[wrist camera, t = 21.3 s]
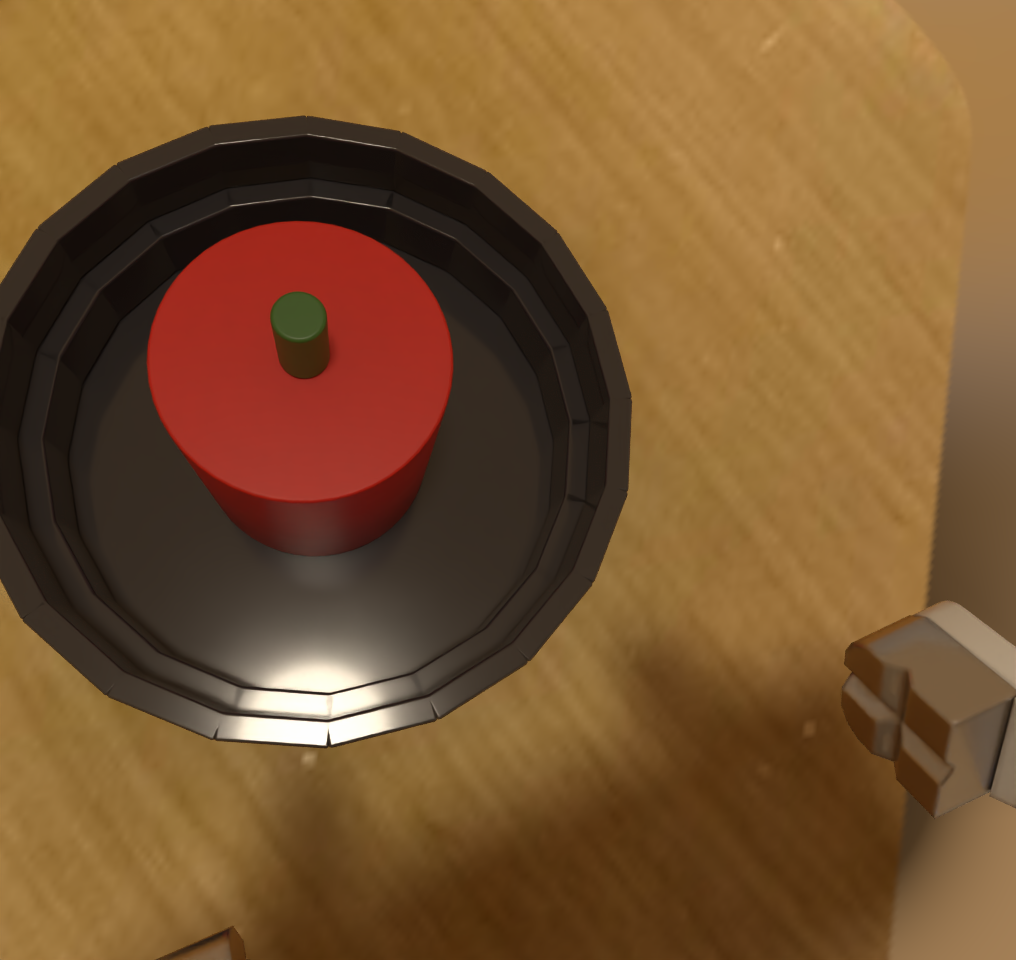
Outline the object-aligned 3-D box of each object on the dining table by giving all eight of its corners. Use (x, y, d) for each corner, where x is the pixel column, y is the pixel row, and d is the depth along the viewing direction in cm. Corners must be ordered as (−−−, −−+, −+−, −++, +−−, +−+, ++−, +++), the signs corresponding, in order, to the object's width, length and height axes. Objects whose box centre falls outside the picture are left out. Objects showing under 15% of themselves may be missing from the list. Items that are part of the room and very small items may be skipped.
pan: (685, 442, 27) (747, 395, 23) (337, 862, 23) (334, 901, 19) (310, 117, 28) (302, 10, 23) (-100, 470, 23) (-202, 419, 19)
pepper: (448, 530, 25) (499, 443, 16) (225, 578, 23) (150, 510, 15) (401, 329, 26) (426, 147, 17) (186, 364, 25) (96, 186, 16)
